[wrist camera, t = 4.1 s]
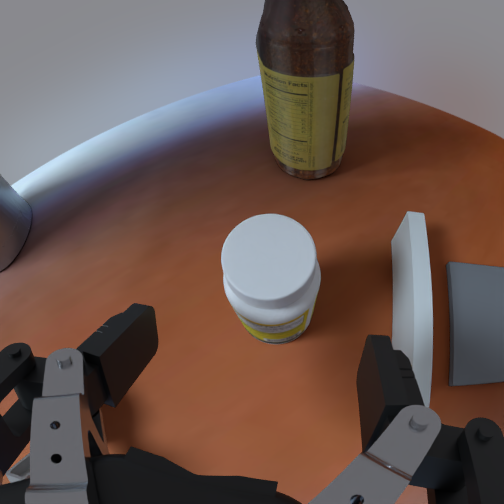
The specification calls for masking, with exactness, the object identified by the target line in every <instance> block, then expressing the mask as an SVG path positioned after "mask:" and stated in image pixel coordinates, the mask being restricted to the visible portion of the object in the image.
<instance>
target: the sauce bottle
mask: <svg viewBox="0 0 504 504" xmlns="http://www.w3.org/2000/svg"><path fill="white" fill-rule="evenodd" d="M353 43H354V23H353V20H352V18H351V15H350V12H349V10H348V7H347V5H346V4H345V3H344V1H343V0H265V4H264V10H263V15H262V17H261V21H260V24H259V28H258V32H257V37H256V47H257V54H258V60H259V66H260V73H261V80H262V86H263V93H264V100H265V108H266V115H267V123H268V131H269V138H270V146H271V150H272V151H273V153H274V157H275V160H276V162H277V164H278V165H279V167H280V168H281V169H282V170H284V171H285V172H287V173H288V174H290V175H292V176H295V177H297V178H302V179H306V180H309V179H317V178H320V177H324V176H326V175H330V174H332V173H333V172H334V171H335V170H336V169H337V168H338V166H339V165H340V162H341V159H342V155H343V153H344V150H345V147H346V138H347V130H348V121H349V111H350V101H351V91H352V80H353V69H354V53H353V45H354V44H353Z"/></svg>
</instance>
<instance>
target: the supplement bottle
mask: <svg viewBox="0 0 504 504" xmlns="http://www.w3.org/2000/svg"><path fill="white" fill-rule="evenodd" d="M221 263H222V268H223V272H224V276H223V282H224V289H225V292H226V296H227V298H228V300H229V302H230V304H231V305H232V307H233V309H234V310H235V312H236V314H237V315H238V317H239V319H240V320H241V322H242V324H243V325H244V327H245V328H246V330H247V331H248V332H249V333H250V334H251V335H252V336H253V337H255V338H256V339H258V340H260V341H262V342H265V343H269V344H283V343H287V342H290V341H292V340H294V339H296V338H297V337H299V336H300V335H301V334H302V333H303V332H304V331H305V330H306V328H307V327H308V325H309V323H310V321H311V318H312V315H313V311H314V307H315V302H316V299H317V295H318V291H319V288H320V282H321V272H320V267H319V263H318V261H317V258H316V248H315V244H314V241H313V239H312V237H311V235H310V234H309V232H308V231H307V230H306V229H305V228H304V227H303V226H302V225H301V224H300V223H298V222H297V221H295V220H293V219H292V218H289V217H286V216H283V215H278V214H262V215H257V216H253V217H251V218H248V219H246V220H244V221H243V222H241V223H240V224H239V225H237V226H236V227H235V228H234V229H233V230H232V231H231V233H230V234H229V235H228V237H227V239H226V241H225V243H224V245H223V249H222V255H221Z"/></svg>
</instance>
